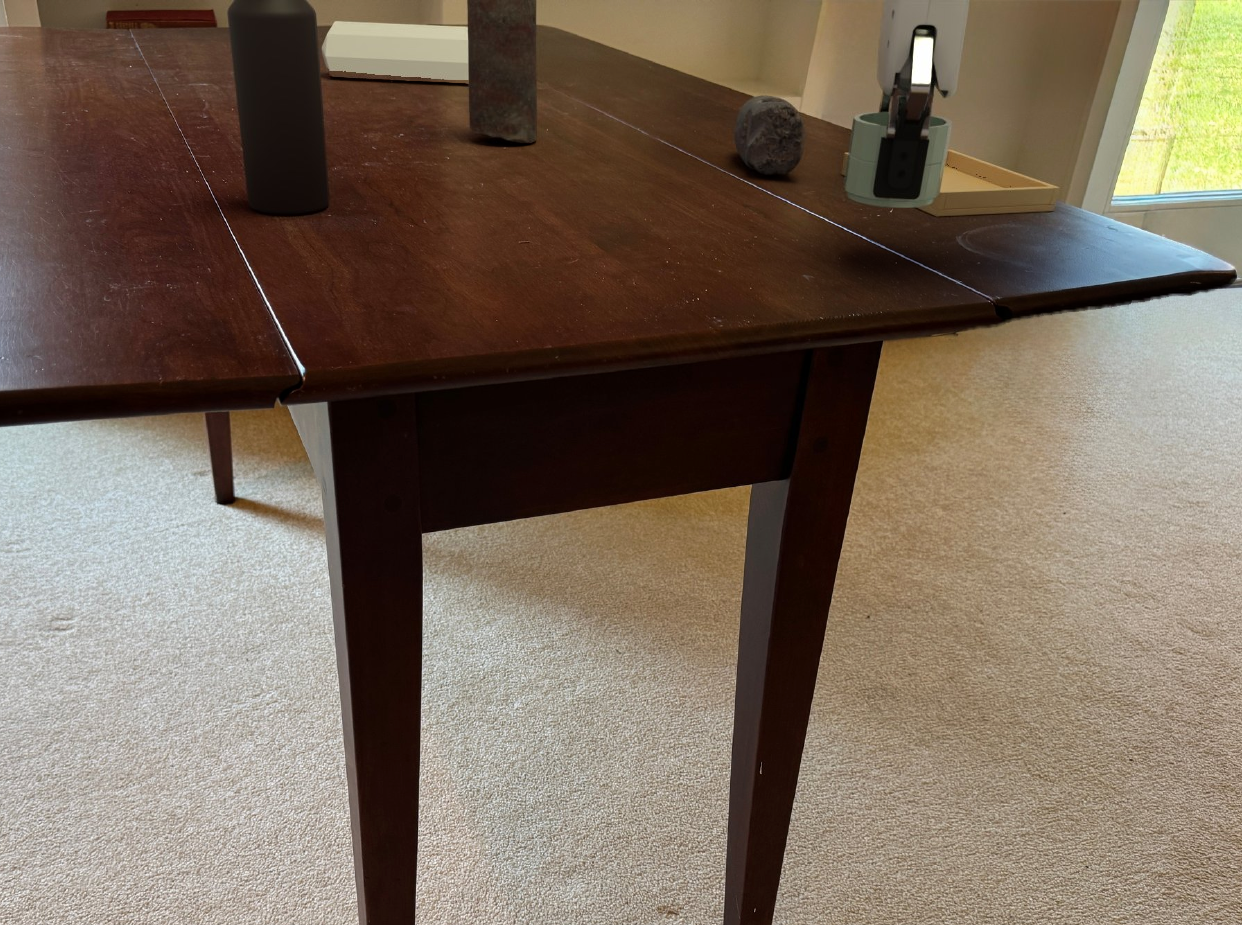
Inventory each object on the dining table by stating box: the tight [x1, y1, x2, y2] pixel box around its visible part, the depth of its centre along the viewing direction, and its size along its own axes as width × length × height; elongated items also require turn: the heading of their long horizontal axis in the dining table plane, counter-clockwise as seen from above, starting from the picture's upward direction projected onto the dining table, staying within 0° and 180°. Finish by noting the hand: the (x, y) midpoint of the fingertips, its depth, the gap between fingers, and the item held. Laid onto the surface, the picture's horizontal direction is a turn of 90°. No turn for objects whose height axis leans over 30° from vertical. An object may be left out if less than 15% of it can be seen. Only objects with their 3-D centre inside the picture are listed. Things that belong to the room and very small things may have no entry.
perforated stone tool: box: [733, 94, 806, 176], centre depth 112 cm, size 15×5×7 cm, turn 3°
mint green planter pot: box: [843, 111, 954, 209], centre depth 81 cm, size 7×7×6 cm
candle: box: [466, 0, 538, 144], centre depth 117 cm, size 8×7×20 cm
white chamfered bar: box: [321, 20, 469, 80], centre depth 158 cm, size 7×7×24 cm
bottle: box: [227, 0, 331, 216], centre depth 89 cm, size 7×7×20 cm
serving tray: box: [841, 149, 1060, 218], centre depth 106 cm, size 12×17×2 cm
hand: (892, 184), depth 82 cm, fingers closed on mint green planter pot, 7 cm apart
